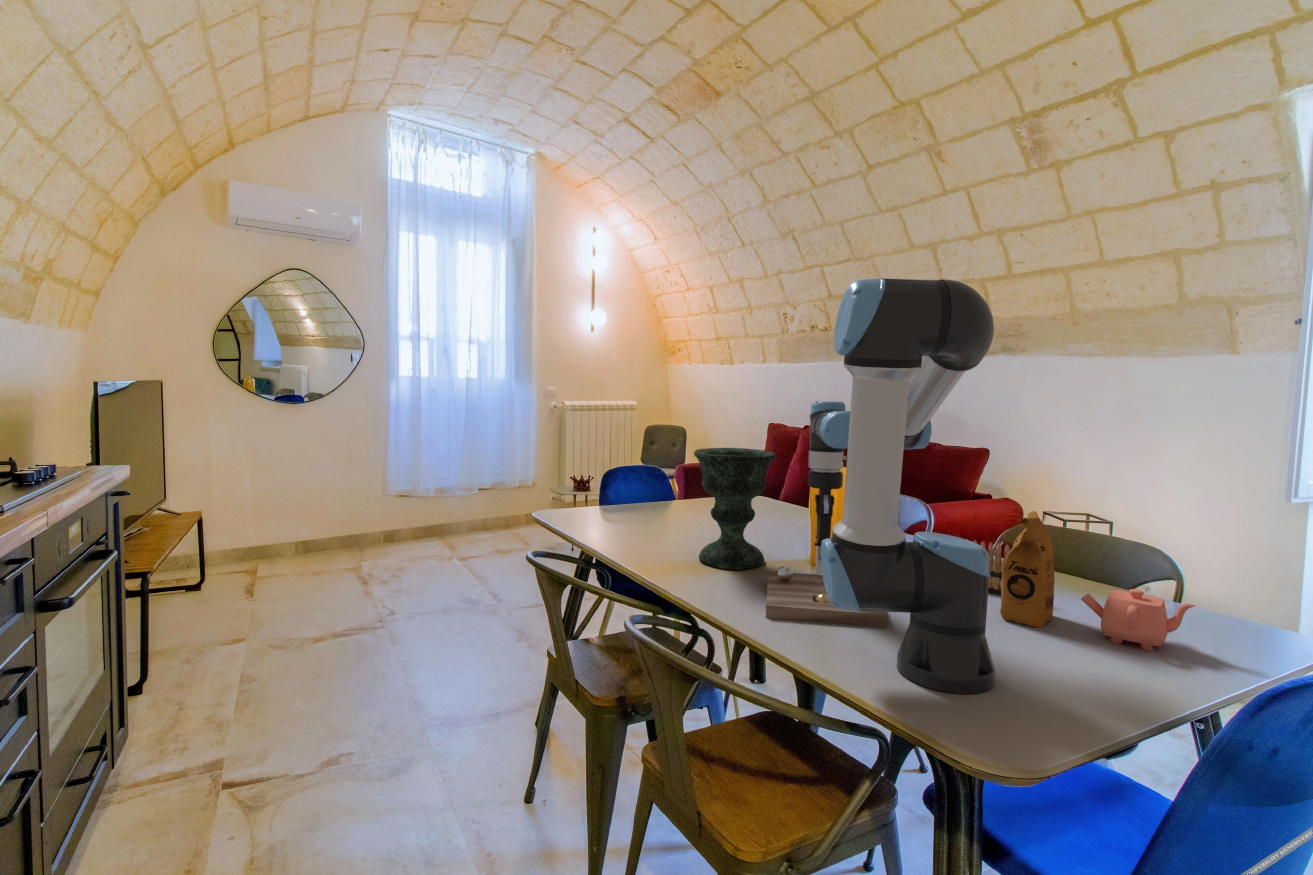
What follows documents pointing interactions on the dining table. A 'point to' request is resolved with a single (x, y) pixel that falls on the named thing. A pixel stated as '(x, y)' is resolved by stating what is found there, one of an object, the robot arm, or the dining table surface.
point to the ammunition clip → (995, 567)
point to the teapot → (1136, 617)
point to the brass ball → (822, 598)
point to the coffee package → (1029, 576)
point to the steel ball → (785, 573)
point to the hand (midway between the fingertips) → (821, 573)
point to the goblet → (733, 502)
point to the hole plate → (811, 602)
